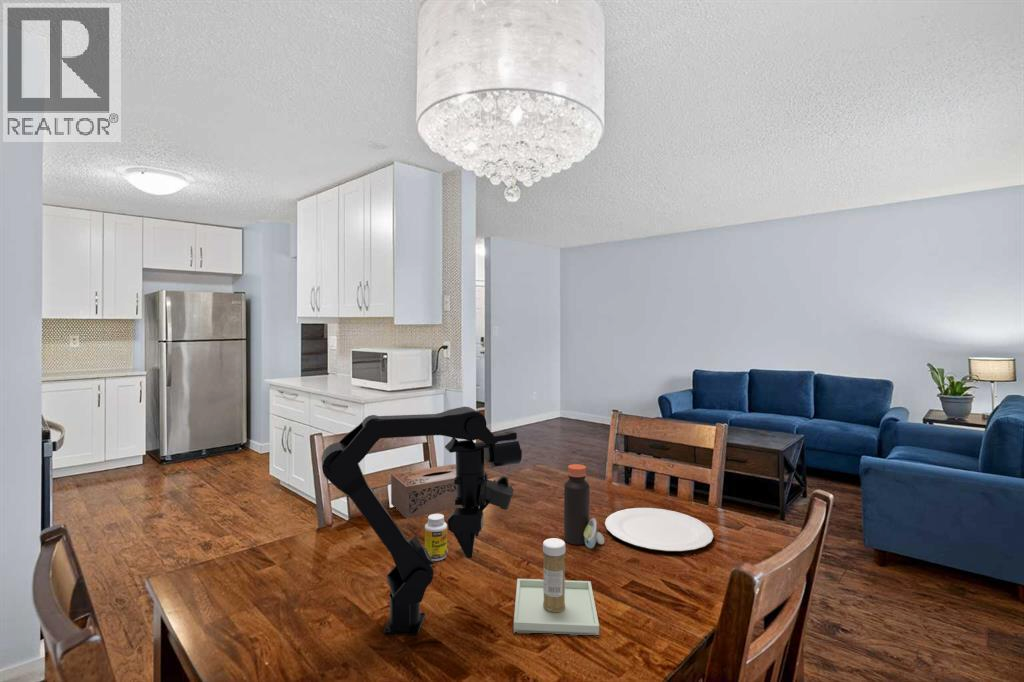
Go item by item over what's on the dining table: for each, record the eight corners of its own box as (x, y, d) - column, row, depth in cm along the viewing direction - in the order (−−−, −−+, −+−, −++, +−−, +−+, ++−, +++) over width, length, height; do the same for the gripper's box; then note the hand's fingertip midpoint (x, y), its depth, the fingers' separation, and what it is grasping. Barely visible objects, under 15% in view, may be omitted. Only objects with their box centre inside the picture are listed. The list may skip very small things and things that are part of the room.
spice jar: (567, 603, 101) (568, 539, 101) (561, 615, 97) (561, 548, 96) (546, 598, 103) (546, 535, 102) (539, 610, 99) (539, 544, 98)
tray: (599, 636, 92) (599, 625, 91) (513, 632, 92) (513, 622, 92) (590, 590, 108) (590, 581, 107) (517, 587, 108) (517, 578, 108)
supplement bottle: (430, 564, 119) (430, 522, 118) (421, 555, 123) (421, 515, 123) (450, 558, 122) (451, 517, 121) (441, 549, 126) (441, 510, 126)
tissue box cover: (406, 519, 146) (406, 486, 146) (391, 504, 159) (391, 474, 158) (482, 503, 160) (482, 473, 160) (463, 490, 172) (463, 462, 172)
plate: (738, 546, 130) (738, 539, 130) (646, 565, 119) (646, 558, 119) (665, 508, 157) (665, 502, 157) (585, 521, 146) (586, 514, 146)
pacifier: (593, 538, 124) (580, 547, 127) (614, 547, 125) (600, 556, 129) (594, 512, 129) (581, 522, 133) (614, 521, 131) (601, 530, 134)
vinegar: (570, 532, 137) (571, 461, 137) (593, 538, 134) (593, 465, 133) (559, 541, 132) (559, 467, 131) (582, 547, 128) (583, 471, 127)
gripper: (506, 486, 89) (509, 570, 90) (513, 457, 108) (514, 526, 108) (446, 486, 90) (448, 570, 90) (462, 457, 108) (464, 526, 109)
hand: (472, 546), depth 99 cm, fingers open, 9 cm apart
